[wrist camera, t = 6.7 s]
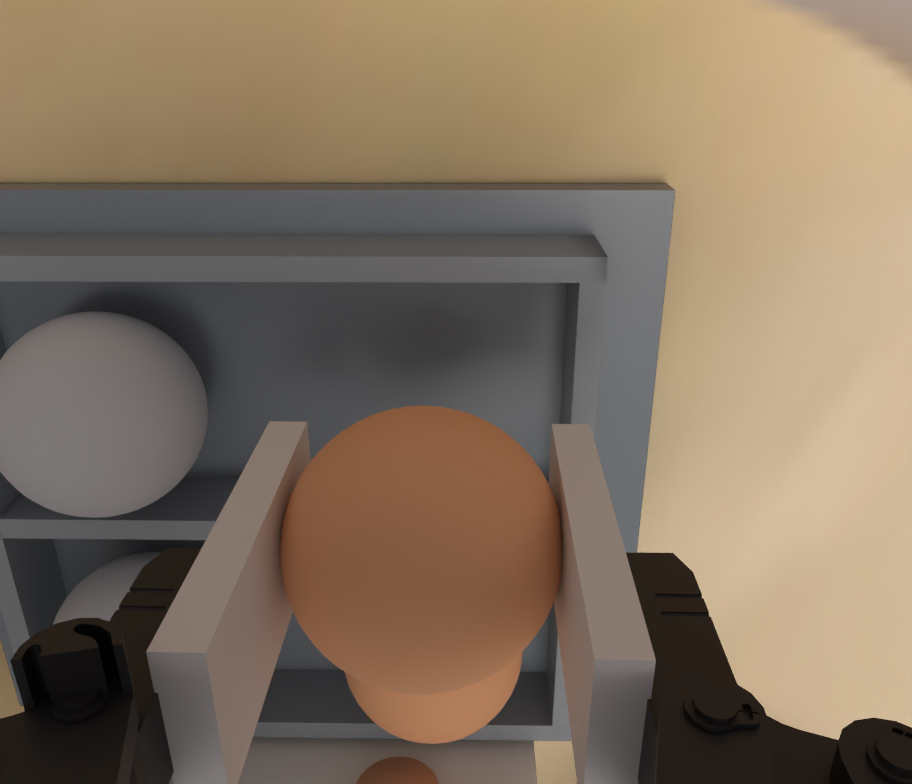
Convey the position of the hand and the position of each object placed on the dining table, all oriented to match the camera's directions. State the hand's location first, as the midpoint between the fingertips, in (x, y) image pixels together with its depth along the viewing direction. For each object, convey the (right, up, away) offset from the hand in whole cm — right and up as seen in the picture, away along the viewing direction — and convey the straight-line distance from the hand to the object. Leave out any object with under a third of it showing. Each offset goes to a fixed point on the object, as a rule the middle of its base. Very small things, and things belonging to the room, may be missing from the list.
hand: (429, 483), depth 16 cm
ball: (0, 0, 0) cm, 0 cm away
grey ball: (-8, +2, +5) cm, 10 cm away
